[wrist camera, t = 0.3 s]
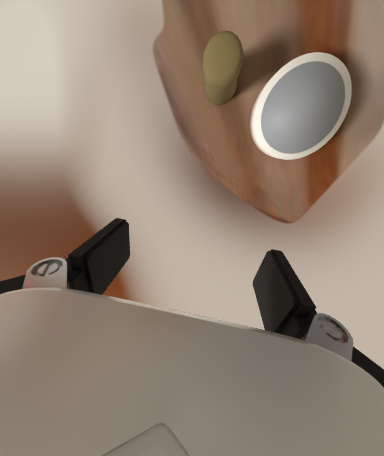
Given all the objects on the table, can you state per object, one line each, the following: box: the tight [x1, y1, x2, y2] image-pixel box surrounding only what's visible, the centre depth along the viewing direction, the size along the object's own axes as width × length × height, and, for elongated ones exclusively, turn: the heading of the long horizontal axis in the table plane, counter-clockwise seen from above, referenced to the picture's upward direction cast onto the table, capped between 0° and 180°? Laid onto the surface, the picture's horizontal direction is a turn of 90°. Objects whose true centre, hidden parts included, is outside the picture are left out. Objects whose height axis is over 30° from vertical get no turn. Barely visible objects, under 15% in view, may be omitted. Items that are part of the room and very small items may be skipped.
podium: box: [250, 52, 352, 160], centre depth 28 cm, size 14×14×5 cm
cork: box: [203, 31, 243, 105], centre depth 24 cm, size 6×6×11 cm
